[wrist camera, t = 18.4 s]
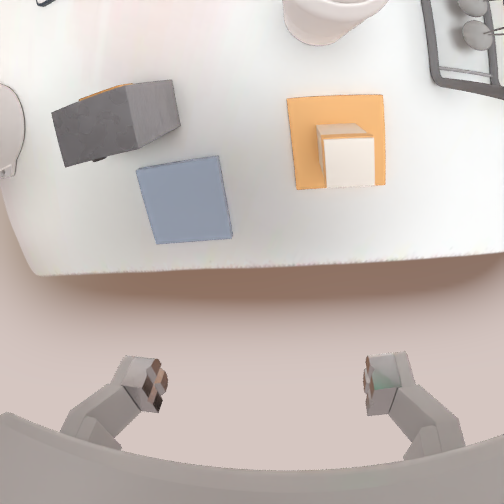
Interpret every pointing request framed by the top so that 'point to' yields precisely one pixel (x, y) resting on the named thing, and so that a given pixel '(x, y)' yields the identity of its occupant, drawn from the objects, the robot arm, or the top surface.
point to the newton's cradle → (478, 38)
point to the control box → (115, 121)
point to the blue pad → (186, 201)
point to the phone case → (43, 2)
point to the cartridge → (346, 155)
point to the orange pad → (332, 112)
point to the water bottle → (326, 18)
